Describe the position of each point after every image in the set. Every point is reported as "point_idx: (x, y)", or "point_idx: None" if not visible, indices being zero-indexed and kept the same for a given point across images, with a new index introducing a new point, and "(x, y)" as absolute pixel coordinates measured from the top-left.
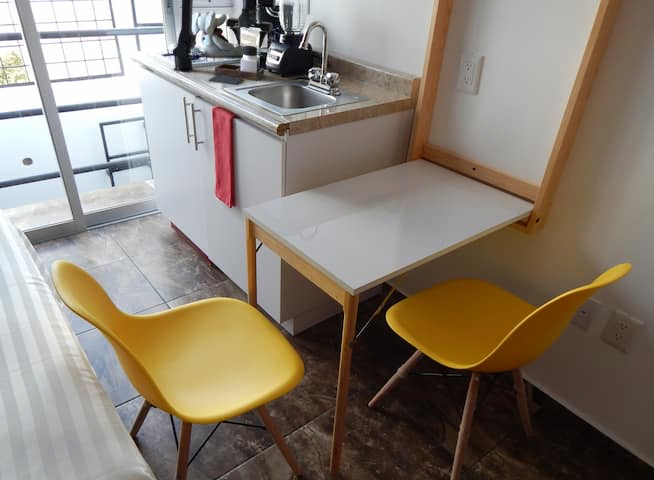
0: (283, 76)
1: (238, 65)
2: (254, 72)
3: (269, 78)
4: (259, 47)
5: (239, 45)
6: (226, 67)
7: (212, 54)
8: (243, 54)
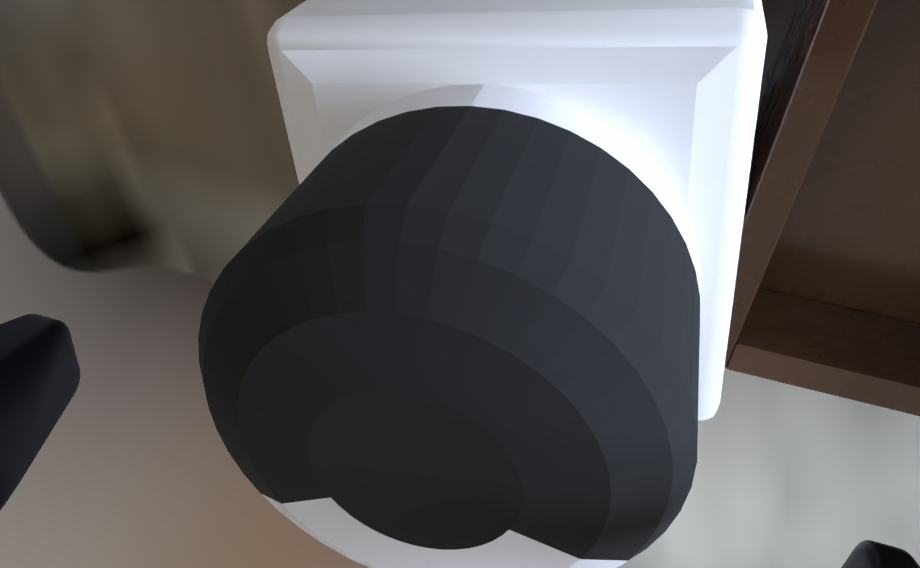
0: (134, 255)
1: (815, 376)
2: None
3: (247, 80)
4: (22, 327)
5: (860, 553)
6: None
7: None
8: (677, 228)
